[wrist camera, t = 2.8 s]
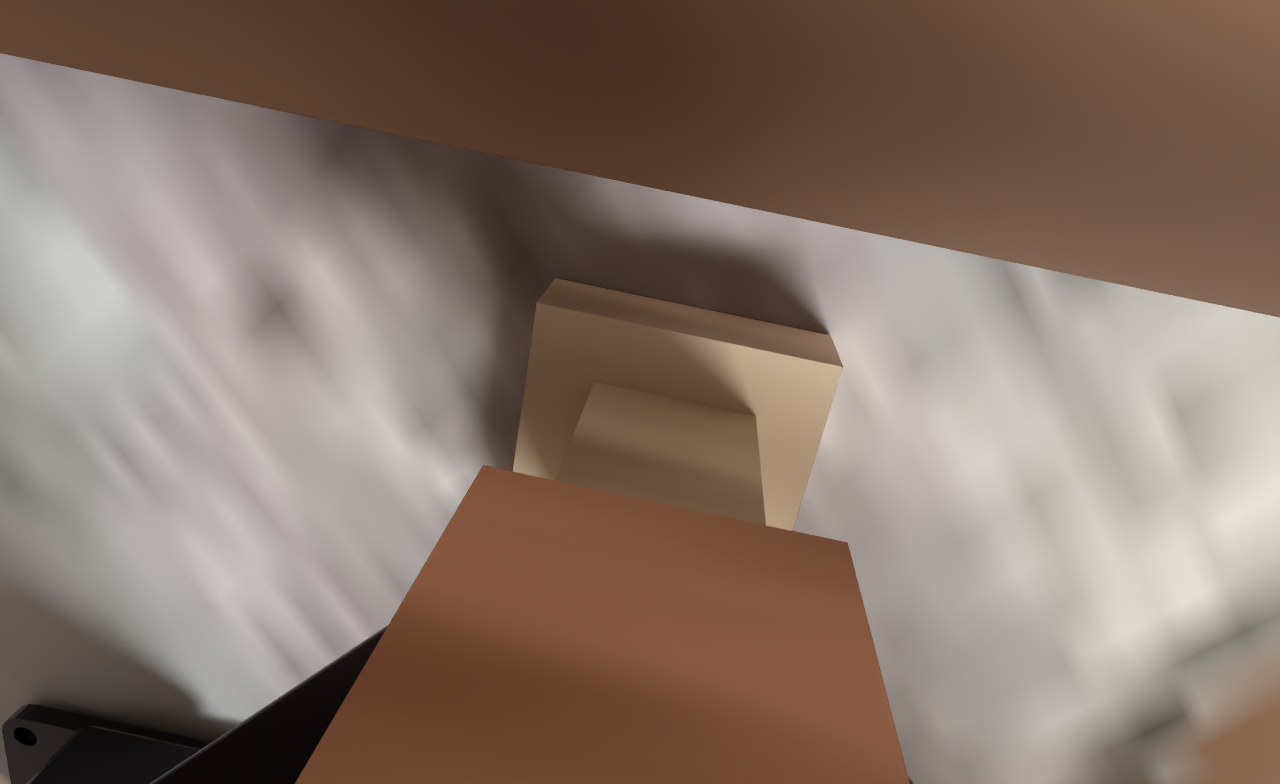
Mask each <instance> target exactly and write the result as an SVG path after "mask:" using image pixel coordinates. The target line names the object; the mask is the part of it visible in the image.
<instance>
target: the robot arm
mask: <svg viewBox="0 0 1280 784" xmlns="http://www.w3.org/2000/svg"><path fill="white" fill-rule="evenodd" d="M387 627H388V626H386V627H384V628H383V629H381V630H380V631H378V632H377V633H375V634H374V635H372V636H371V637H369V638H368V639H366V640H365V641H363V642H362V643H360V644H359V645H357V646H356V647H354V648H353V649H351V650H350V651H348V652H347V653H345V654H344V655H342V656H341V657H339V658H338V659H336V660H335V661H333V662H332V663H330V664H329V665H327V666H326V667H324V668H323V669H321V670H320V671H318V672H317V673H315V674H314V675H312V676H311V677H309V678H308V679H306V680H305V681H303V682H302V683H300V684H299V685H297V686H296V687H294V688H293V689H291V690H290V691H288V692H287V693H285V694H284V695H282V696H281V697H279V698H278V699H276V700H275V701H273V702H272V703H270V704H269V705H267V706H266V707H264V708H263V709H261V710H260V711H258V712H257V713H255V714H254V715H252V716H251V717H249V718H248V719H246V720H245V721H243V722H242V723H240V724H239V725H237V726H236V727H234V728H233V729H231V730H230V731H228V732H227V733H225V734H224V735H222V736H221V737H219V738H218V739H216V740H215V741H213V742H212V743H209V742H205V741H200V740H196V739H191V738H187V737H182V736H178V735H173V734H168V733H164V732H159V731H155V730H150V729H146V728H141V727H137V726H132V725H128V724H123V723H118V722H114V721H109V720H105V719H100V718H96V717H91V716H87V715H82V714H77V713H73V712H68V711H64V710H59V709H55V708H50V707H46V706H41V705H34V704H28V705H25V706H22V707H21V708H20V709H19V710H18V711H17V712H16V713H15V714H14V715H12V716H11V717H10V718H9V719H8V720H7V721H6V722H5V723H4V725H3V729H2V733H3V738H4V744H5V750H6V756H7V761H8V767H9V773H10V778H11V784H295V783H296V781H297V779H298V778H299V776H300V774H301V772H302V771H303V769H304V767H305V766H306V764H307V762H308V761H309V759H310V757H311V756H312V754H313V752H314V750H315V749H316V747H317V745H318V744H319V742H320V740H321V739H322V737H323V735H324V734H325V732H326V730H327V728H328V727H329V725H330V723H331V722H332V720H333V718H334V717H335V715H336V713H337V712H338V710H339V708H340V706H341V705H342V703H343V701H344V700H345V698H346V696H347V695H348V693H349V691H350V690H351V688H352V686H353V684H354V683H355V681H356V679H357V678H358V676H359V674H360V673H361V671H362V669H363V668H364V666H365V664H366V663H367V661H368V659H369V657H370V656H371V654H372V652H373V651H374V649H375V647H376V646H377V644H378V642H379V641H380V639H381V637H382V635H383V634H384V632H385V630H386V629H387ZM907 776H908V775H907ZM908 779H909V783H910V784H914V783H913V781H912V780H911V779H910V777H909V776H908Z"/></svg>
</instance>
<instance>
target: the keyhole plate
mask: <svg viewBox="0 0 1280 784" xmlns="http://www.w3.org/2000/svg"><path fill="white" fill-rule="evenodd" d="M0 53H3V54H8V55H13V56H17V57H22V58H27V59H32V60H37V61H42V62H46V63H51V64H56V65H61V66H66V67H71V68H75V69H80V70H85V71H90V72H95V73H100V74H104V75H109V76H114V77H119V78H124V79H129V80H134V81H138V82H143V83H148V84H153V85H158V86H163V87H167V88H172V89H177V90H182V91H187V92H192V93H196V94H201V95H206V96H211V97H216V98H221V99H226V100H230V101H235V102H240V103H245V104H250V105H255V106H259V107H264V108H269V109H274V110H279V111H284V112H288V113H293V114H298V115H303V116H308V117H313V118H317V119H322V120H327V121H332V122H337V123H342V124H347V125H351V126H356V127H361V128H366V129H371V130H376V131H380V132H385V133H390V134H395V135H400V136H405V137H409V138H414V139H419V140H424V141H429V142H434V143H438V144H443V145H448V146H453V147H458V148H463V149H468V150H472V151H477V152H482V153H487V154H492V155H497V156H501V157H506V158H511V159H516V160H521V161H526V162H530V163H535V164H540V165H545V166H550V167H555V168H560V169H564V170H569V171H574V172H579V173H584V174H589V175H593V176H598V177H603V178H608V179H613V180H618V181H622V182H627V183H632V184H637V185H642V186H647V187H651V188H656V189H661V190H666V191H671V192H676V193H681V194H685V195H690V196H695V197H700V198H705V199H710V200H714V201H719V202H724V203H729V204H734V205H739V206H743V207H748V208H753V209H758V210H763V211H768V212H773V213H777V214H782V215H787V216H792V217H797V218H802V219H806V220H811V221H816V222H821V223H826V224H831V225H835V226H840V227H845V228H850V229H855V230H860V231H864V232H869V233H874V234H879V235H884V236H889V237H894V238H898V239H903V240H908V241H913V242H918V243H923V244H927V245H932V246H937V247H942V248H947V249H952V250H956V251H961V252H966V253H971V254H976V255H981V256H985V257H990V258H995V259H1000V260H1005V261H1010V262H1015V263H1019V264H1024V265H1029V266H1034V267H1039V268H1044V269H1048V270H1053V271H1058V272H1063V273H1068V274H1073V275H1077V276H1082V277H1087V278H1092V279H1097V280H1102V281H1107V282H1111V283H1116V284H1121V285H1126V286H1131V287H1136V288H1140V289H1145V290H1150V291H1155V292H1160V293H1165V294H1169V295H1174V296H1179V297H1184V298H1189V299H1194V300H1198V301H1203V302H1208V303H1213V304H1218V305H1223V306H1228V307H1232V308H1237V309H1242V310H1247V311H1252V312H1257V313H1261V314H1266V315H1271V316H1276V317H1280V0H0Z"/></svg>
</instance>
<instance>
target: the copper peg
mask: <svg viewBox="0 0 1280 784" xmlns="http://www.w3.org/2000/svg"><path fill="white" fill-rule="evenodd" d="M842 369H843V366H842V363H841V360H840V358H839V355H838V353H837V350H836V348H835V345H834V343H833V340H832V337H831V335H826V334H821V333H817V332H812V331H807V330H802V329H798V328H793V327H788V326H783V325H778V324H774V323H769V322H764V321H759V320H754V319H750V318H745V317H740V316H735V315H731V314H726V313H721V312H716V311H711V310H707V309H702V308H697V307H692V306H687V305H683V304H678V303H673V302H668V301H663V300H659V299H654V298H649V297H644V296H640V295H635V294H630V293H625V292H620V291H616V290H611V289H606V288H601V287H596V286H592V285H587V284H582V283H577V282H573V281H568V280H563V279H558V278H555V279H554V281H553V282H552V283H551V285H550V286H549V287H548V288H547V290H546V291H545V292H544V294H543V295H542V296H541V298H540V299H539V300H538V301H537V303H536V310H535V317H534V324H533V331H532V338H531V345H530V352H529V359H528V367H527V374H526V381H525V388H524V395H523V402H522V409H521V416H520V423H519V430H518V438H517V445H516V452H515V459H514V466H513V471H508V470H504V469H499V468H494V467H489V466H485V465H483V466H482V468H481V470H480V471H479V473H478V475H477V476H476V478H475V480H474V481H473V483H472V485H471V487H470V488H469V490H468V492H467V493H466V495H465V497H464V498H463V500H462V502H461V503H460V505H459V507H458V509H457V510H456V512H455V514H454V515H453V517H452V519H451V520H450V522H449V524H448V525H447V527H446V529H445V531H444V532H443V534H442V536H441V537H440V539H439V541H438V542H437V544H436V546H435V547H434V549H433V551H432V553H431V554H430V556H429V558H428V559H427V561H426V563H425V564H424V566H423V568H422V569H421V571H420V573H419V575H418V576H417V578H416V580H415V581H414V583H413V585H412V586H411V588H410V590H409V591H408V593H407V595H406V597H405V598H404V600H403V602H402V603H401V605H400V607H399V608H398V610H397V612H396V613H395V615H394V617H393V619H392V620H391V622H390V624H389V625H388V627H387V629H386V630H385V632H384V634H383V635H382V637H381V639H380V641H379V642H378V644H377V646H376V647H375V649H374V651H373V652H372V654H371V656H370V657H369V659H368V661H367V663H366V664H365V666H364V668H363V669H362V671H361V673H360V674H359V676H358V678H357V679H356V681H355V683H354V684H353V686H352V688H351V690H350V691H349V693H348V695H347V696H346V698H345V700H344V701H343V703H342V705H341V706H340V708H339V710H338V712H337V713H336V715H335V717H334V718H333V720H332V722H331V723H330V725H329V727H328V728H327V730H326V732H325V734H324V735H323V737H322V739H321V740H320V742H319V744H318V745H317V747H316V749H315V750H314V752H313V754H312V756H311V757H310V759H309V761H308V762H307V764H306V766H305V767H304V769H303V771H302V772H301V774H300V776H299V778H298V779H297V781H296V783H295V784H910V783H909V779H908V776H907V772H906V768H905V764H904V760H903V756H902V752H901V748H900V744H899V741H898V737H897V733H896V729H895V725H894V721H893V717H892V713H891V710H890V706H889V702H888V698H887V694H886V690H885V686H884V682H883V678H882V675H881V671H880V667H879V663H878V659H877V655H876V651H875V647H874V643H873V640H872V636H871V632H870V628H869V624H868V620H867V616H866V612H865V609H864V605H863V601H862V597H861V593H860V589H859V585H858V581H857V577H856V574H855V570H854V566H853V562H852V558H851V554H850V550H849V546H848V543H846V542H842V541H837V540H832V539H828V538H823V537H818V536H813V535H809V534H804V533H799V532H795V531H792V530H793V527H794V524H795V521H796V517H797V514H798V511H799V508H800V504H801V501H802V498H803V495H804V492H805V488H806V485H807V482H808V479H809V475H810V472H811V469H812V466H813V462H814V459H815V456H816V453H817V450H818V446H819V443H820V440H821V437H822V433H823V430H824V427H825V424H826V421H827V417H828V414H829V411H830V408H831V404H832V401H833V398H834V395H835V391H836V388H837V385H838V382H839V379H840V375H841V372H842Z"/></svg>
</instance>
